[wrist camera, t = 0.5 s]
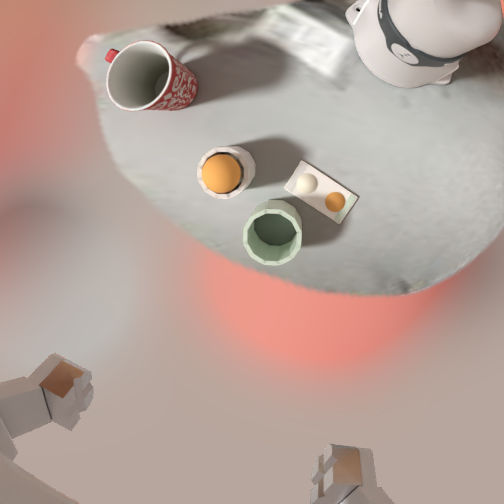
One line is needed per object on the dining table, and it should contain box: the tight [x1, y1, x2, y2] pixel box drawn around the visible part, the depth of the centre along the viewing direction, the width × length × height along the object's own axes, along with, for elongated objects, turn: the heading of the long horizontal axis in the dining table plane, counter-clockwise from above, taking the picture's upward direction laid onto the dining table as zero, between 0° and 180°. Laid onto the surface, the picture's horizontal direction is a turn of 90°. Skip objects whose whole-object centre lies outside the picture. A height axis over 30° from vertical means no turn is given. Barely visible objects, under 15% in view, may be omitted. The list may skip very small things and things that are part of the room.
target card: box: [284, 160, 358, 224], centre depth 47 cm, size 5×10×1 cm, turn 59°
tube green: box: [243, 200, 302, 266], centre depth 47 cm, size 8×8×7 cm
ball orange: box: [202, 154, 241, 193], centre depth 41 cm, size 5×5×5 cm
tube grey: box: [198, 146, 255, 199], centre depth 45 cm, size 7×7×7 cm
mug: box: [105, 41, 198, 111], centre depth 38 cm, size 13×9×14 cm
